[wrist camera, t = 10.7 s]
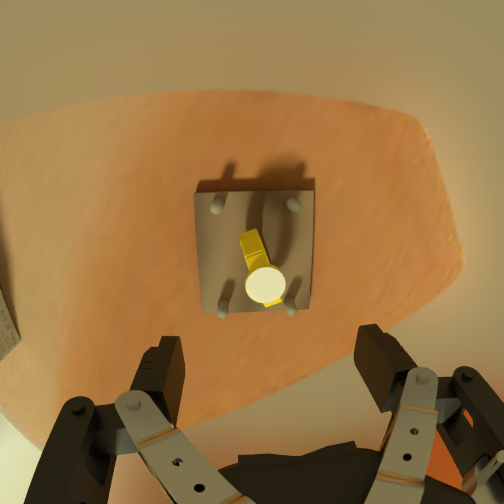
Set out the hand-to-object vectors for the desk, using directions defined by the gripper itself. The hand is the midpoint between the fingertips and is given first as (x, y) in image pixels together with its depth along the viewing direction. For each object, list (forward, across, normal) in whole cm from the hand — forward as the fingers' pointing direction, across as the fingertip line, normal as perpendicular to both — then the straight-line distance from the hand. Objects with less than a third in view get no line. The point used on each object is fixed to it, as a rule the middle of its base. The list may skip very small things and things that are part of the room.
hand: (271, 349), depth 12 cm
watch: (+14, 0, 0) cm, 14 cm away
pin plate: (+15, 0, 0) cm, 15 cm away
